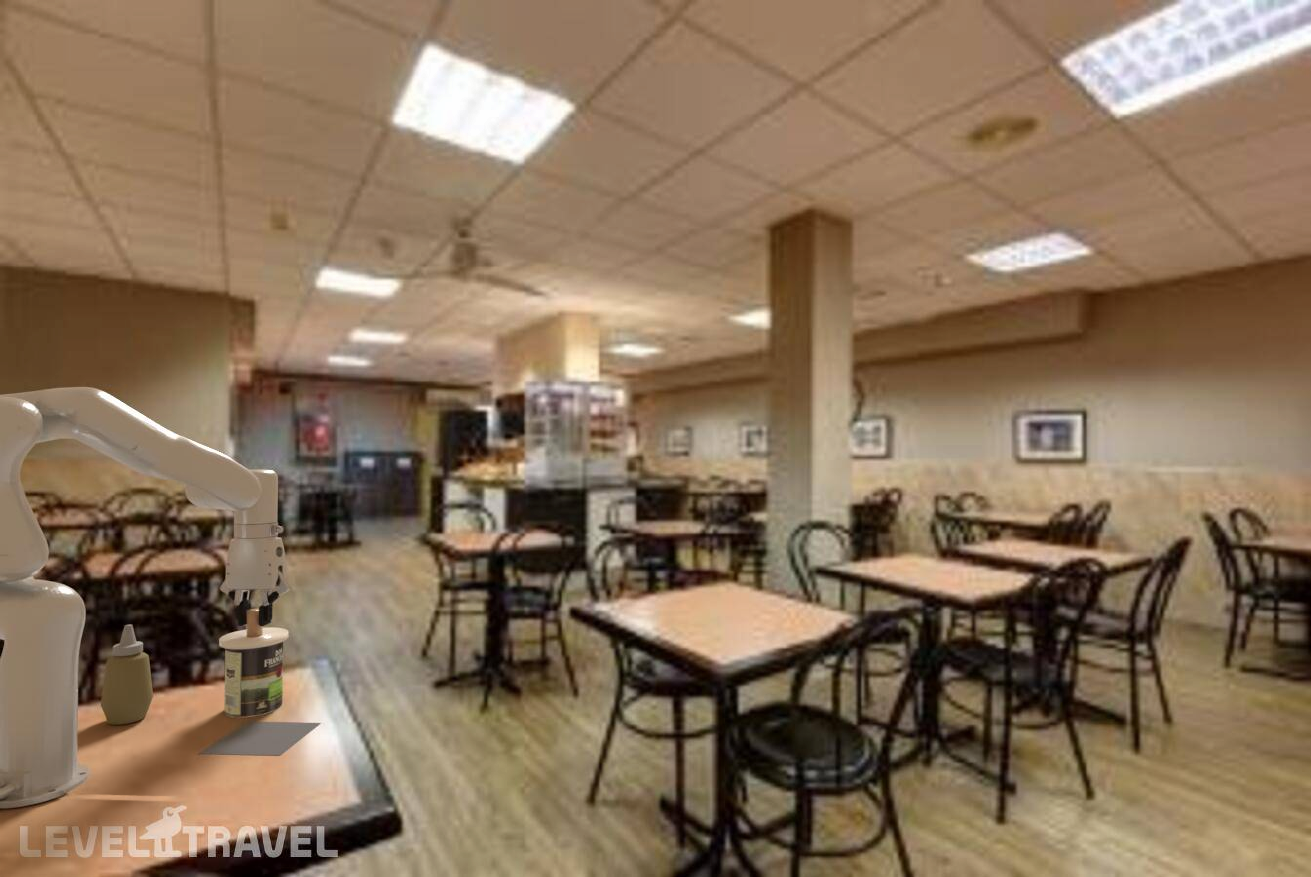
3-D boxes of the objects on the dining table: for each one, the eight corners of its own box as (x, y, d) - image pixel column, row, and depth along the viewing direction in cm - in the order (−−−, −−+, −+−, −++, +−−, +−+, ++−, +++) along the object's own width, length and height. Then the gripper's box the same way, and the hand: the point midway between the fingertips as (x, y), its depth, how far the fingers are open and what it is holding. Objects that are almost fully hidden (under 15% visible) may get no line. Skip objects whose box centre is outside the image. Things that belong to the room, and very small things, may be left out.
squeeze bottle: (160, 717, 138) (162, 624, 138) (111, 731, 132) (112, 633, 132) (141, 708, 143) (142, 618, 143) (92, 722, 136) (94, 626, 136)
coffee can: (293, 701, 148) (294, 633, 148) (264, 721, 137) (265, 647, 137) (243, 700, 148) (244, 632, 148) (211, 720, 137) (212, 646, 138)
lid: (267, 649, 136) (267, 618, 136) (205, 649, 137) (205, 617, 137) (300, 632, 148) (300, 603, 148) (242, 632, 149) (242, 603, 149)
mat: (279, 759, 121) (279, 755, 121) (198, 757, 121) (198, 753, 121) (320, 726, 135) (321, 723, 135) (247, 724, 135) (247, 721, 135)
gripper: (306, 530, 146) (305, 620, 146) (226, 528, 147) (225, 619, 147) (286, 534, 139) (285, 630, 139) (202, 533, 139) (201, 628, 139)
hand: (254, 623), depth 143 cm, fingers open, 3 cm apart
